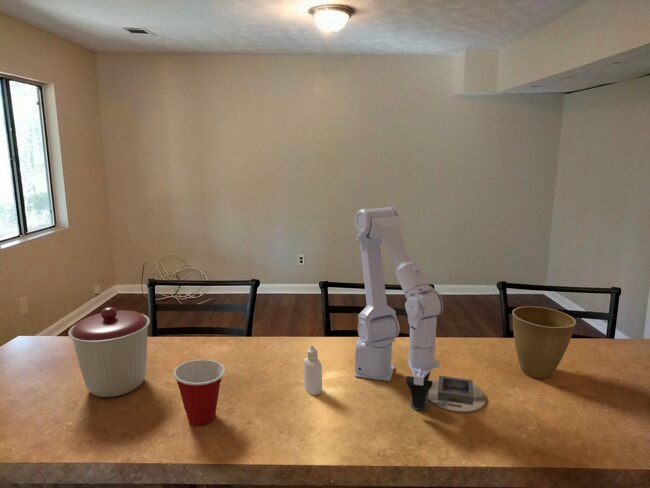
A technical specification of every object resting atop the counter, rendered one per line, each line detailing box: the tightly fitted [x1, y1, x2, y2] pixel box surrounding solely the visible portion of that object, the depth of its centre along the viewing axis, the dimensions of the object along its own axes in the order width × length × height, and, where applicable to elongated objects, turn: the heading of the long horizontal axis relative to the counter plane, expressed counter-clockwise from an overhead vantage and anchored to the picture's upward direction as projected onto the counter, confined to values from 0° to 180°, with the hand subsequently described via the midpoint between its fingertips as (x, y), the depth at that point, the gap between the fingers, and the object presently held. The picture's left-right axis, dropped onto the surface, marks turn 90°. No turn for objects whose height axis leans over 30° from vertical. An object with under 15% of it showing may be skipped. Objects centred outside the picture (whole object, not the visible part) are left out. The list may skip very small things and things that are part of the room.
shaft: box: [410, 379, 429, 412], centre depth 104 cm, size 4×4×6 cm
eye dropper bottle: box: [303, 344, 323, 396], centre depth 111 cm, size 4×6×12 cm
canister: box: [67, 306, 151, 398], centre depth 111 cm, size 18×18×21 cm
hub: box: [428, 375, 487, 413], centre depth 109 cm, size 14×14×3 cm
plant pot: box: [511, 306, 577, 380], centre depth 119 cm, size 15×15×16 cm
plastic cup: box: [173, 359, 226, 427], centre depth 99 cm, size 11×11×12 cm
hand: (419, 397), depth 104 cm, fingers open, 7 cm apart
